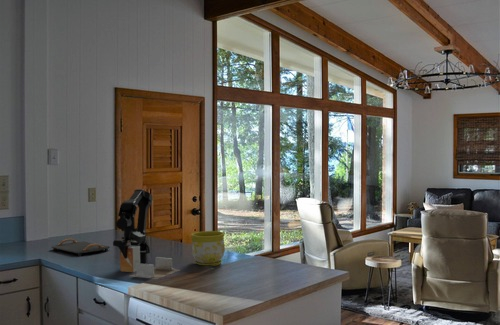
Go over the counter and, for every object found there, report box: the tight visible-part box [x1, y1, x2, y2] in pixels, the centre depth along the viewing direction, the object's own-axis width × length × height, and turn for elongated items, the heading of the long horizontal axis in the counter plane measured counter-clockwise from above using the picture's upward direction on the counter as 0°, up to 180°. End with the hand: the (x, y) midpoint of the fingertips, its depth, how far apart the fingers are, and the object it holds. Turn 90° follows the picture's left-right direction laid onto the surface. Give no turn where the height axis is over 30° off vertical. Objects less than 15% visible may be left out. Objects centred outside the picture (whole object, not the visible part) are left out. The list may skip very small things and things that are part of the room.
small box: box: [119, 244, 140, 273], centre depth 269 cm, size 8×6×13 cm
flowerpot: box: [190, 230, 226, 267], centre depth 282 cm, size 18×18×16 cm
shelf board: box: [129, 266, 181, 280], centre depth 262 cm, size 20×17×1 cm
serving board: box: [51, 238, 111, 257], centre depth 331 cm, size 39×23×6 cm, turn 47°
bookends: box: [133, 256, 176, 279], centre depth 262 cm, size 20×10×6 cm, turn 152°
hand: (130, 257), depth 269 cm, fingers closed on small box, 6 cm apart
